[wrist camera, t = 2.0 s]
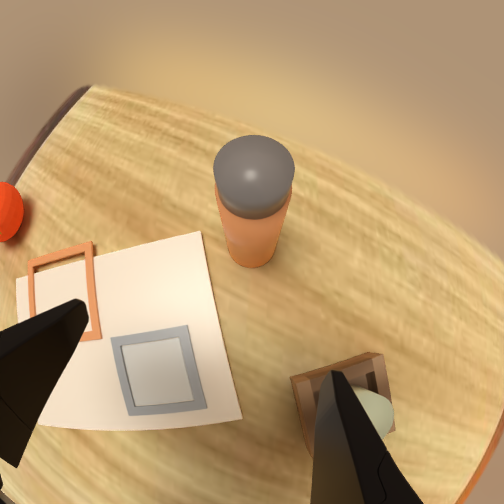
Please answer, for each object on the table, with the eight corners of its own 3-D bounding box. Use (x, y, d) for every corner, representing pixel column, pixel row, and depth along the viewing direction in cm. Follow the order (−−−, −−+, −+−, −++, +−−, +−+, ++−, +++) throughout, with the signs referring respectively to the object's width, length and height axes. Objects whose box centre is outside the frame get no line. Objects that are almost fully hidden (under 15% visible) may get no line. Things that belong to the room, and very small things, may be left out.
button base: (380, 421, 19) (395, 430, 17) (306, 447, 19) (314, 461, 16) (367, 352, 21) (383, 354, 18) (290, 376, 21) (296, 383, 18)
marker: (280, 261, 23) (309, 195, 12) (233, 272, 23) (218, 213, 12) (268, 218, 24) (283, 127, 13) (223, 228, 24) (204, 141, 13)
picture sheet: (242, 416, 20) (242, 419, 19) (41, 423, 18) (37, 424, 17) (198, 217, 24) (196, 213, 24) (19, 267, 23) (14, 265, 22)
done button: (373, 420, 18) (396, 434, 14) (327, 438, 17) (343, 457, 13) (366, 377, 19) (389, 385, 15) (318, 394, 18) (333, 407, 14)
